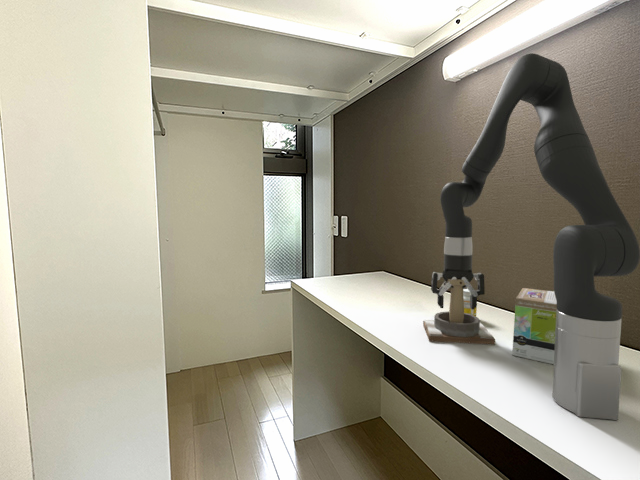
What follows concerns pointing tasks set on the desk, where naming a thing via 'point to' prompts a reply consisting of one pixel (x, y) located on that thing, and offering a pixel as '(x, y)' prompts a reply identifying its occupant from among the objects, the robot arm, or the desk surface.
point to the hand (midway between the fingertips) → (456, 308)
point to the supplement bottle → (468, 303)
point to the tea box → (535, 325)
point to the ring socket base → (457, 330)
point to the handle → (456, 301)
